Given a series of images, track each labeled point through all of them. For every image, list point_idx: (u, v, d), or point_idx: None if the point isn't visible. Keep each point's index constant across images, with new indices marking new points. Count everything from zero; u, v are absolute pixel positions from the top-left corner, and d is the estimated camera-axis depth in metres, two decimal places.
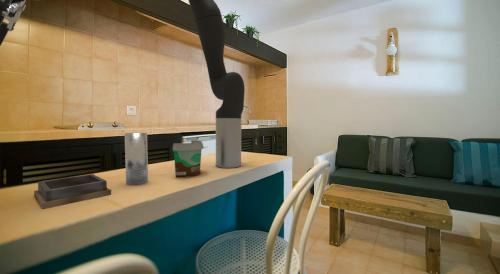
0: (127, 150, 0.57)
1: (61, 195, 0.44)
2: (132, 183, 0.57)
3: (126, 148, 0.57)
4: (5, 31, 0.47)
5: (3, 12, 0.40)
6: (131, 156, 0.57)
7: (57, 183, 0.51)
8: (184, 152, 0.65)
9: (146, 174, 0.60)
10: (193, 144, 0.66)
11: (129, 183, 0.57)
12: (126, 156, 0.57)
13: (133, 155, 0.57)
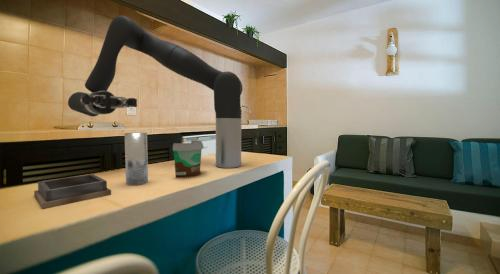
0: (127, 150, 0.57)
1: (61, 195, 0.44)
2: (132, 183, 0.57)
3: (126, 148, 0.57)
4: (128, 99, 0.71)
5: (92, 96, 0.64)
6: (131, 156, 0.57)
7: (57, 183, 0.51)
8: (184, 152, 0.65)
9: (146, 174, 0.60)
10: (193, 144, 0.66)
11: (129, 183, 0.57)
12: (126, 156, 0.57)
13: (133, 155, 0.57)
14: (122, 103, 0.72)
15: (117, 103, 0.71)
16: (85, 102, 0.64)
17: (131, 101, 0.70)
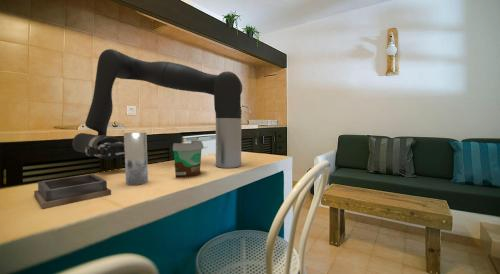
0: (126, 150, 0.57)
1: (61, 195, 0.44)
2: (132, 183, 0.57)
3: (125, 148, 0.57)
4: None
5: (97, 148, 0.64)
6: (131, 156, 0.57)
7: (57, 183, 0.51)
8: (184, 152, 0.65)
9: (146, 174, 0.60)
10: (193, 144, 0.66)
11: (129, 183, 0.57)
12: (126, 156, 0.57)
13: (133, 155, 0.57)
14: None
15: (122, 150, 0.71)
16: (90, 154, 0.63)
17: None
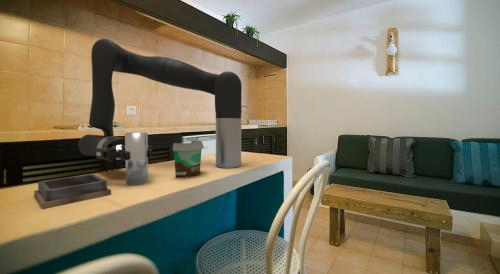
0: (127, 150, 0.57)
1: (61, 195, 0.44)
2: (132, 183, 0.57)
3: (126, 148, 0.57)
4: None
5: (116, 151, 0.58)
6: (131, 156, 0.57)
7: (57, 183, 0.51)
8: (184, 152, 0.65)
9: (146, 174, 0.60)
10: (193, 144, 0.66)
11: (129, 183, 0.57)
12: None
13: (134, 155, 0.57)
14: None
15: None
16: (109, 158, 0.57)
17: None
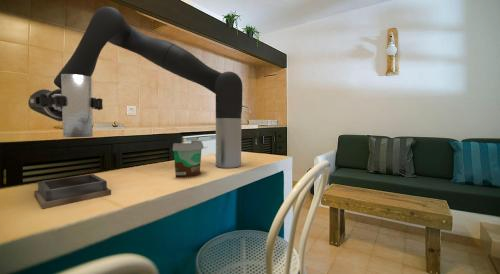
0: (63, 94, 0.47)
1: (61, 195, 0.44)
2: (69, 134, 0.48)
3: (62, 92, 0.48)
4: None
5: (52, 96, 0.49)
6: (68, 102, 0.47)
7: (57, 183, 0.51)
8: (184, 152, 0.65)
9: (89, 126, 0.50)
10: (193, 144, 0.66)
11: (66, 134, 0.48)
12: None
13: (71, 100, 0.47)
14: None
15: None
16: (42, 104, 0.48)
17: None
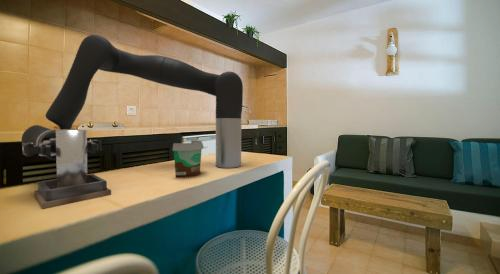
0: (57, 151, 0.47)
1: (61, 195, 0.44)
2: None
3: (57, 148, 0.47)
4: (87, 143, 0.53)
5: (38, 145, 0.47)
6: (62, 158, 0.47)
7: None
8: (184, 152, 0.65)
9: (83, 180, 0.49)
10: (193, 144, 0.66)
11: None
12: (57, 158, 0.47)
13: (65, 157, 0.47)
14: None
15: None
16: (27, 154, 0.47)
17: (90, 147, 0.52)
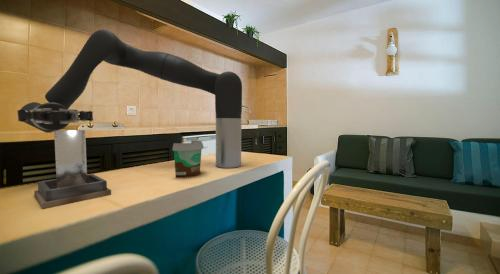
0: (56, 151, 0.47)
1: (61, 195, 0.44)
2: None
3: (56, 149, 0.47)
4: (79, 112, 0.58)
5: (29, 111, 0.52)
6: (61, 159, 0.47)
7: None
8: (184, 152, 0.65)
9: (83, 180, 0.49)
10: (193, 144, 0.66)
11: None
12: (56, 158, 0.47)
13: (64, 157, 0.47)
14: (73, 117, 0.59)
15: (67, 117, 0.59)
16: (19, 119, 0.51)
17: (82, 115, 0.57)
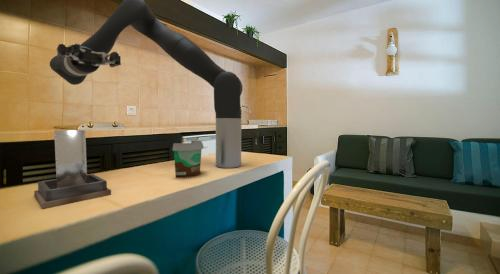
0: (56, 151, 0.47)
1: (61, 195, 0.44)
2: None
3: (56, 149, 0.47)
4: (110, 54, 0.65)
5: (69, 46, 0.58)
6: (61, 159, 0.47)
7: None
8: (184, 152, 0.65)
9: (83, 180, 0.49)
10: (193, 144, 0.66)
11: None
12: (56, 158, 0.47)
13: (64, 157, 0.47)
14: (104, 59, 0.66)
15: (98, 59, 0.65)
16: (60, 52, 0.58)
17: (113, 56, 0.64)
